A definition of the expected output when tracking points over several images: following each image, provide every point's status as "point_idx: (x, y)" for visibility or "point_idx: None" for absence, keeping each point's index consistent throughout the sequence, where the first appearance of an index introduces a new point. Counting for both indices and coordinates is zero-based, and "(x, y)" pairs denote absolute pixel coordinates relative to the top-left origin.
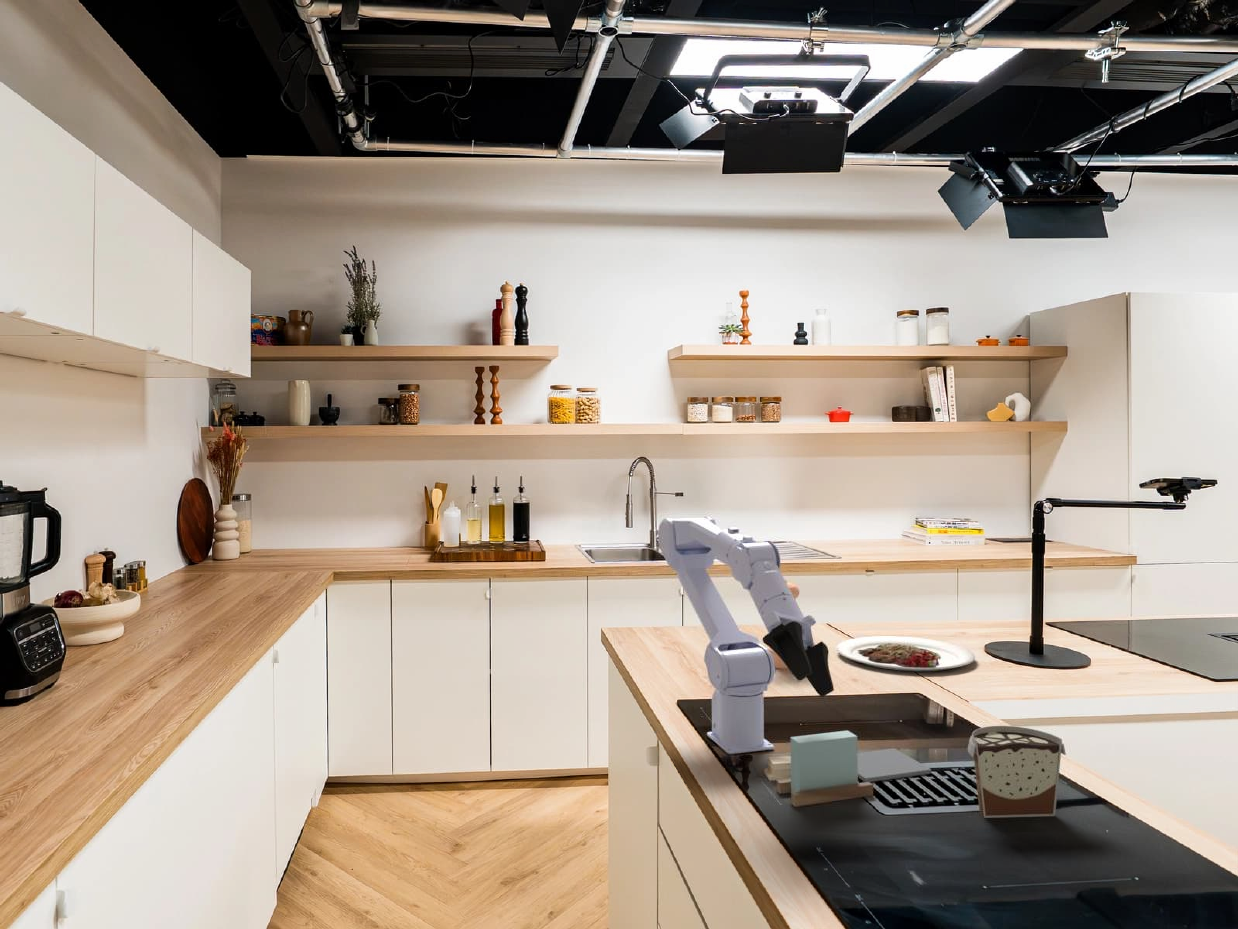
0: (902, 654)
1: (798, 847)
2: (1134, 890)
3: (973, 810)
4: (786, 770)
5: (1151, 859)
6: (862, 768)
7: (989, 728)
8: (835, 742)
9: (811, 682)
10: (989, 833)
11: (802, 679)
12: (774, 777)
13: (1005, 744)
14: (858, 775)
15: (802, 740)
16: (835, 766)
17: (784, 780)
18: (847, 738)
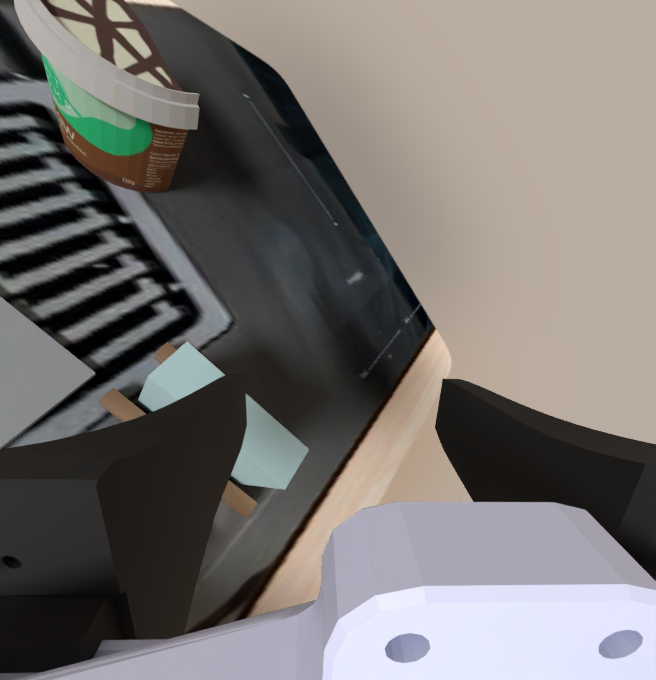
0: None
1: (373, 396)
2: (271, 109)
3: (143, 199)
4: None
5: (192, 59)
6: (16, 395)
7: (56, 23)
8: None
9: (225, 480)
10: (217, 196)
11: (437, 417)
12: None
13: (152, 47)
14: (67, 395)
15: (288, 451)
16: None
17: (239, 503)
18: (210, 362)
